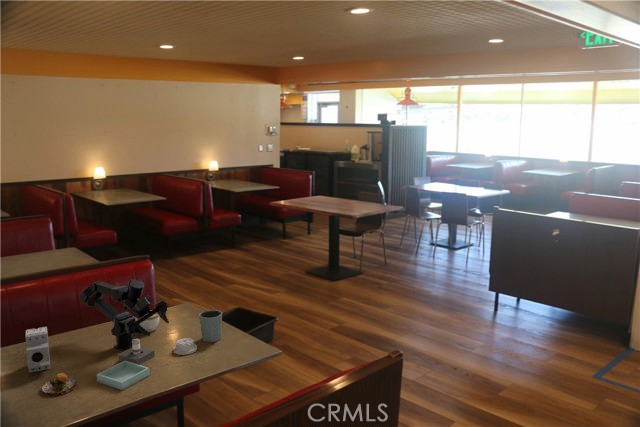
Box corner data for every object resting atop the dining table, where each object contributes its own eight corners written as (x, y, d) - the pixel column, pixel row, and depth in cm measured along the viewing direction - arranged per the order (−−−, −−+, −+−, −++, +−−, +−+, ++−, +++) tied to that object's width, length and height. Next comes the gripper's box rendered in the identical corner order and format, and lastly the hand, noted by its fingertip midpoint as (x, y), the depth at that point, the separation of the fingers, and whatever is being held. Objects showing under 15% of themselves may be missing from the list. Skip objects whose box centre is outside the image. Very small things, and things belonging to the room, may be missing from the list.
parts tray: (97, 381, 204) (96, 374, 204) (125, 367, 216) (124, 360, 216) (122, 390, 198) (121, 382, 197) (150, 375, 210) (149, 368, 209)
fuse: (131, 359, 224) (130, 341, 222) (137, 356, 226) (136, 338, 225) (136, 360, 222) (135, 342, 221) (142, 357, 225) (141, 339, 223)
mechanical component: (169, 354, 229) (191, 356, 227) (168, 344, 228) (190, 346, 226) (179, 344, 238) (200, 346, 236) (179, 335, 238) (200, 337, 236)
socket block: (118, 360, 222) (118, 354, 222) (137, 351, 231) (137, 345, 230) (136, 365, 218) (136, 360, 217) (154, 356, 226) (154, 350, 226)
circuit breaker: (28, 379, 206) (25, 342, 203) (29, 364, 218) (25, 329, 216) (50, 375, 209) (47, 339, 207) (49, 360, 222) (46, 326, 219)
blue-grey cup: (227, 337, 246) (226, 312, 244) (211, 345, 238) (210, 319, 236) (210, 332, 251) (210, 308, 249) (195, 339, 243) (194, 314, 241)
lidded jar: (139, 325, 259) (138, 307, 258) (162, 324, 261) (161, 306, 259) (134, 334, 249) (133, 315, 247) (158, 333, 250) (157, 314, 248)
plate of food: (52, 381, 205) (50, 362, 204) (82, 381, 205) (80, 363, 204) (34, 397, 194) (32, 377, 192) (66, 397, 193) (65, 378, 192)
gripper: (114, 306, 216) (137, 329, 209) (153, 283, 227) (177, 304, 221) (117, 323, 223) (140, 346, 216) (155, 300, 235) (178, 321, 228)
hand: (159, 329), depth 220 cm, fingers open, 9 cm apart
